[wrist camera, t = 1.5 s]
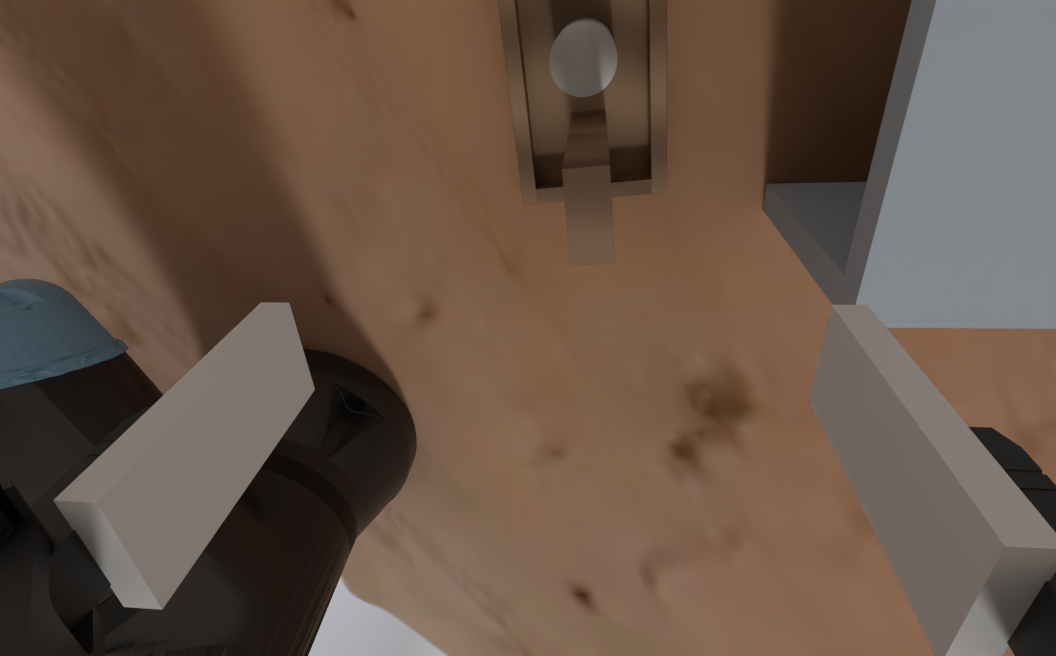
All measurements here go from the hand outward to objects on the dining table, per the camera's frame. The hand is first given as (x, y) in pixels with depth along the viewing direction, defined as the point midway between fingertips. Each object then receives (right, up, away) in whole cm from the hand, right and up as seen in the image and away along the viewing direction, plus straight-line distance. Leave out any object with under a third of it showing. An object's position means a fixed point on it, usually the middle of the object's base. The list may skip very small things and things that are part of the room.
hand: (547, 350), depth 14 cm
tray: (+2, +16, +16) cm, 22 cm away
